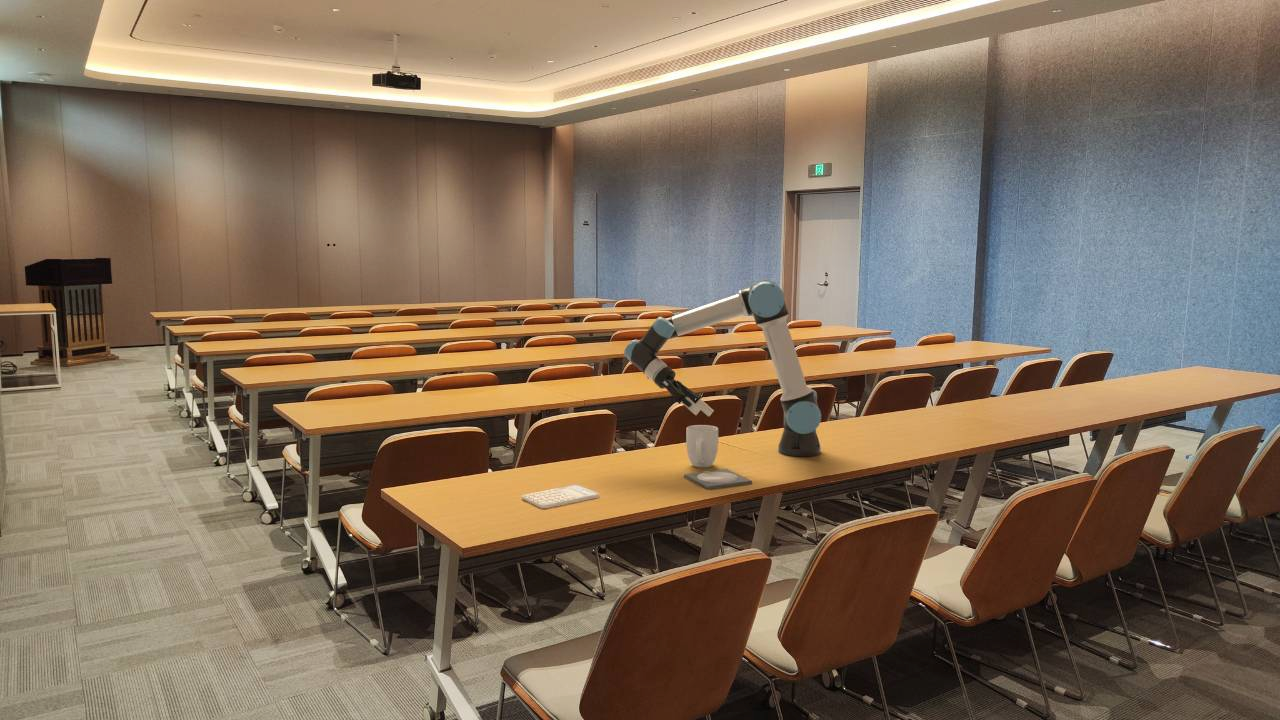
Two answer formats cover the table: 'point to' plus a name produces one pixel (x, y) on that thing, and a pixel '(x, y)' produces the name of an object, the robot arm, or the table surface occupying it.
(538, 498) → the calculator
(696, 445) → the mug
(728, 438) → the table surface
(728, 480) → the kitchen scale
